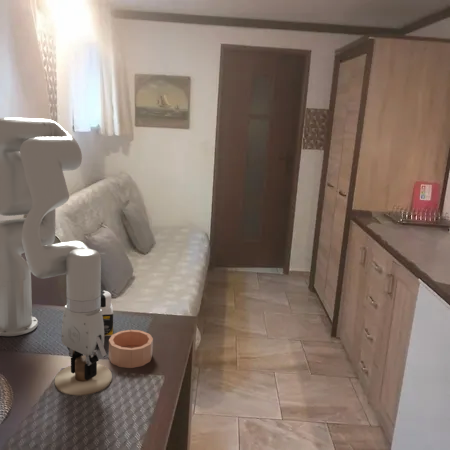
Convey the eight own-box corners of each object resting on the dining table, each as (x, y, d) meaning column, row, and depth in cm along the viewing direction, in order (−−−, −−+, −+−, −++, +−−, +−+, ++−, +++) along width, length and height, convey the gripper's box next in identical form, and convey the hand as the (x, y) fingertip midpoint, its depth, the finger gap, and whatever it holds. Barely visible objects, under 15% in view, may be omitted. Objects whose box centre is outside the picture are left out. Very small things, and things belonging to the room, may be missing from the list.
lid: (43, 381, 113) (42, 361, 112) (86, 360, 124) (86, 341, 122) (80, 402, 106) (80, 381, 105) (123, 377, 117) (123, 358, 116)
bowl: (100, 357, 125) (100, 340, 124) (130, 342, 134) (130, 326, 133) (131, 372, 120) (131, 354, 118) (160, 355, 129) (160, 338, 127)
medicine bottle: (87, 337, 135) (87, 297, 133) (87, 326, 142) (87, 288, 139) (113, 336, 137) (113, 296, 135) (111, 325, 144) (112, 287, 141)
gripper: (46, 297, 112) (47, 368, 116) (96, 317, 103) (96, 393, 107) (72, 289, 118) (72, 356, 122) (121, 307, 109) (120, 379, 113)
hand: (83, 373), depth 115 cm, fingers closed on lid, 4 cm apart
